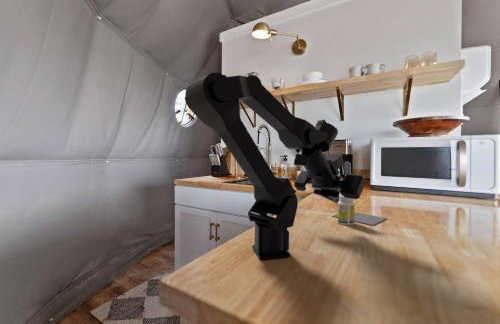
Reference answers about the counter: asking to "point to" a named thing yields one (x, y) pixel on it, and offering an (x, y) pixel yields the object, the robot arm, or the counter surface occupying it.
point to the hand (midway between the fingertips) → (337, 201)
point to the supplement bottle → (346, 211)
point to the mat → (366, 219)
